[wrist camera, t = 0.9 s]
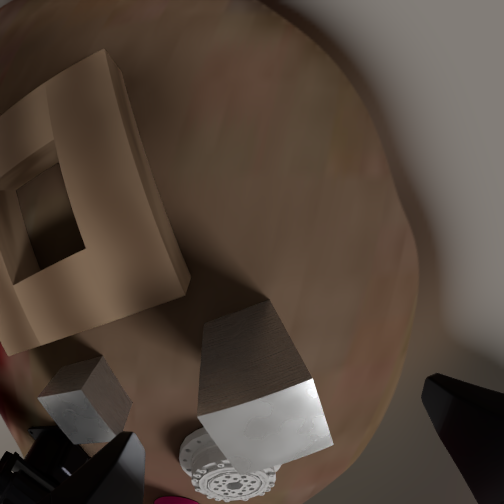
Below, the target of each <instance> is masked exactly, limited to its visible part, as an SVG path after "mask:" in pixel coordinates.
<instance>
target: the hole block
mask: <svg viewBox="0 0 504 504" xmlns="http://www.w3.org/2000/svg"><path fill="white" fill-rule="evenodd" d="M58 162H59V164H60V168H61V172H62V175H63V179H64V183H65V186H66V190H67V193H68V197H69V200H70V203H71V206H72V210H73V213H74V216H75V219H76V222H77V225H78V228H79V230H80V233H81V236H82V239H83V242H84V244H85V247H86V249H84V250H82V251H80V252H78V253H75V254H73V255H71V256H69V257H67V258H65V259H63V260H61V261H59V262H57V263H55V264H53V265H51V266H49V267H47V268H45V269H43V270H40V267H39V265H38V262H37V259H36V257H35V254H34V251H33V248H32V245H31V242H30V239H29V236H28V233H27V230H26V226H25V223H24V219H23V216H22V212H21V209H20V205H19V201H18V197H17V193H16V190H17V189H19V188H20V187H21V186H23V185H24V184H26V183H27V182H29V181H30V180H31V179H33V178H34V177H36V176H37V175H39V174H40V173H42V172H44V171H45V170H47V169H48V168H50V167H51V166H53V165H55V164H56V163H58ZM190 279H191V275H190V273H189V270H188V268H187V265H186V263H185V260H184V258H183V255H182V253H181V250H180V248H179V245H178V243H177V240H176V238H175V235H174V232H173V230H172V227H171V225H170V222H169V219H168V216H167V214H166V211H165V208H164V206H163V203H162V200H161V197H160V194H159V192H158V189H157V186H156V183H155V180H154V177H153V174H152V171H151V168H150V165H149V162H148V159H147V156H146V153H145V150H144V147H143V144H142V141H141V138H140V134H139V131H138V128H137V125H136V121H135V118H134V114H133V111H132V108H131V104H130V101H129V97H128V93H127V90H126V86H125V82H124V79H123V75H122V72H121V70H120V69H119V68H118V66H117V65H116V64H115V62H114V61H113V60H112V58H111V57H110V55H109V54H108V53H107V51H106V50H105V49H102V50H100V51H98V52H96V53H94V54H92V55H90V56H88V57H87V58H85V59H83V60H81V61H79V62H77V63H76V64H74V65H72V66H70V67H69V68H67V69H65V70H64V71H62V72H60V73H59V74H57V75H56V76H54V77H52V78H51V79H49V80H48V81H46V82H45V83H43V84H42V85H40V86H39V87H37V88H36V89H35V90H33V91H32V92H30V93H29V94H28V95H26V96H25V97H24V98H22V99H21V100H20V101H18V102H17V103H16V104H14V105H13V106H12V107H11V108H9V109H8V110H7V111H6V112H5V113H3V114H2V115H1V116H0V342H1V344H2V345H3V347H4V349H5V351H6V353H7V355H8V356H10V355H14V354H17V353H20V352H23V351H26V350H29V349H32V348H35V347H38V346H41V345H44V344H47V343H50V342H53V341H56V340H59V339H62V338H65V337H68V336H71V335H74V334H77V333H80V332H83V331H86V330H89V329H92V328H95V327H97V326H100V325H103V324H106V323H109V322H112V321H115V320H118V319H120V318H123V317H126V316H129V315H132V314H135V313H138V312H140V311H143V310H146V309H149V308H152V307H154V306H157V305H160V304H163V303H166V302H168V301H171V300H174V299H177V298H180V297H182V296H185V295H186V292H187V289H188V285H189V282H190Z"/></svg>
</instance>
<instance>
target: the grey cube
mask: <svg viewBox="0 0 504 504" xmlns="http://www.w3.org/2000/svg"><path fill="white" fill-rule="evenodd" d="M37 398H38V400H39V401H40V402H41V404H42V405H43V407H44V408H45V409H46V411H47V412H48V413H49V415H50V416H51V417H52V419H53V420H54V421H55V422H56V424H57V425H58V426H59V427H60V429H61V430H62V431H63V432H64V433H65V435H66V436H67V437H68V438H69V439H70V440H71V442H72V443H73V444H88V443H100V442H110V441H111V440H112V439H113V438H114V437H115V436H116V435H118V434H119V433H120V432H122V431H123V429H124V426H125V423H126V420H127V417H128V414H129V411H130V409H131V406H132V403H133V402H132V401H131V399H130V398H129V396H128V395H127V393H126V392H125V390H124V389H123V387H122V386H121V384H120V383H119V381H118V379H117V378H116V376H115V375H114V373H113V371H112V370H111V368H110V367H109V365H108V363H107V362H106V360H105V358H104V356H100V357H96V358H93V359H89V360H86V361H82V362H78V363H75V364H71V365H67V366H63V367H61V368H60V370H59V371H58V372H57V373H56V374H55V376H54V377H53V378H52V379H51V381H50V382H49V383H48V384H47V386H46V387H45V388H44V390H43V391H42V392H41V393H40V395H39V396H38V397H37Z"/></svg>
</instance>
